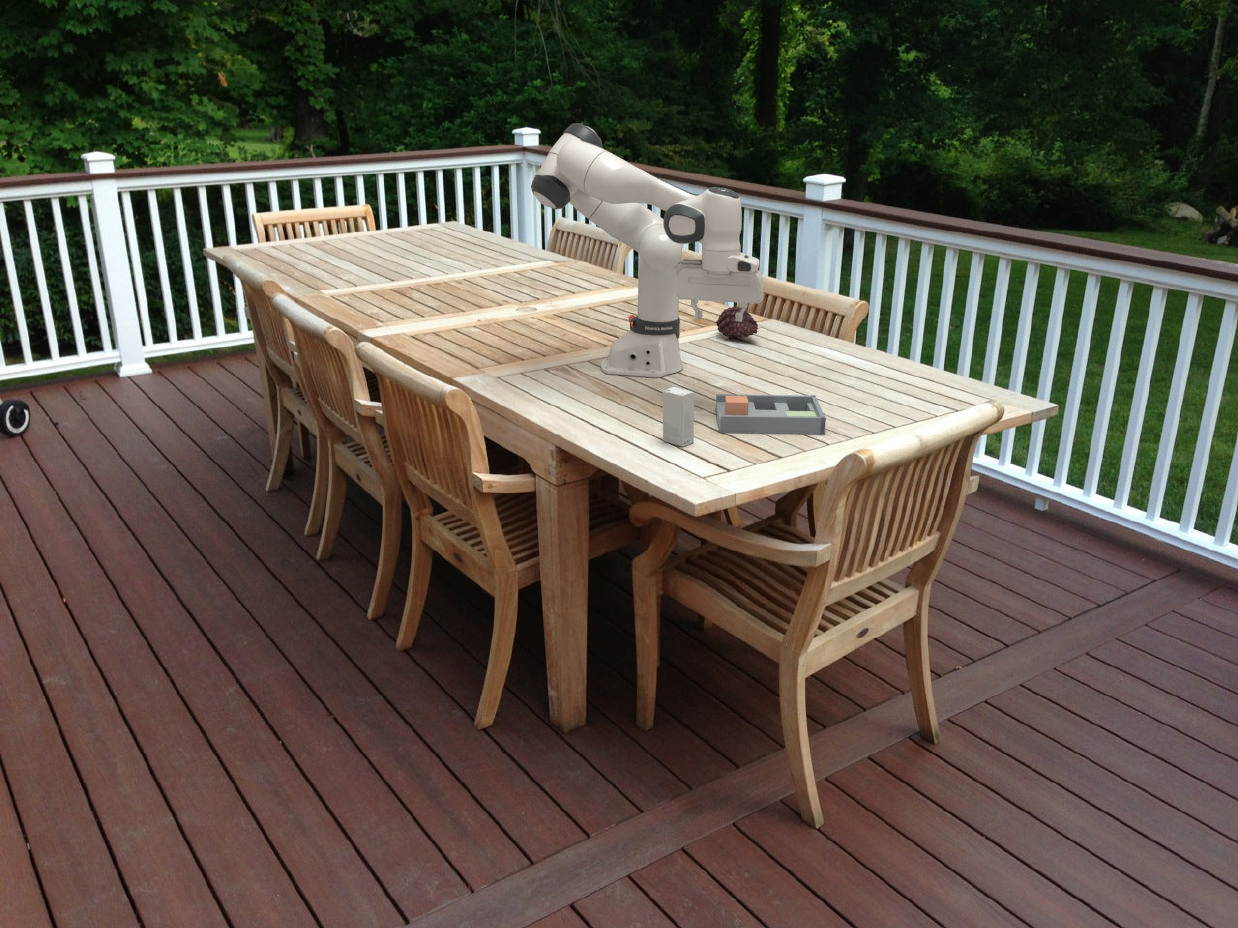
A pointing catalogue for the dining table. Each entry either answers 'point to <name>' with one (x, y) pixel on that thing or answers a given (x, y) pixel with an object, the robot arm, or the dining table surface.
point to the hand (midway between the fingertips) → (718, 319)
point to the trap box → (773, 415)
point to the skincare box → (678, 416)
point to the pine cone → (736, 324)
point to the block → (736, 405)
